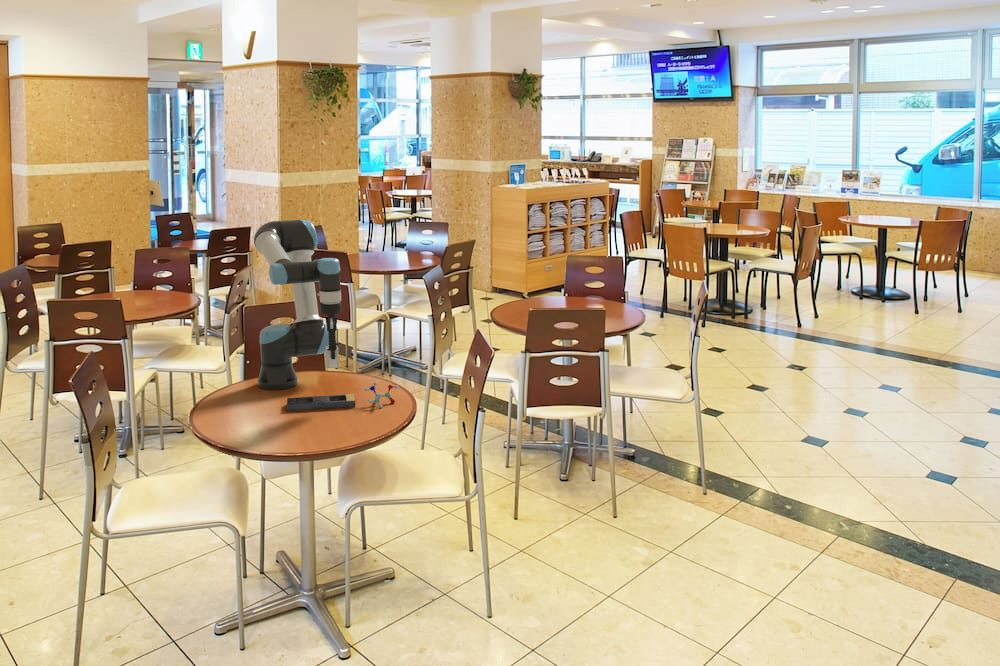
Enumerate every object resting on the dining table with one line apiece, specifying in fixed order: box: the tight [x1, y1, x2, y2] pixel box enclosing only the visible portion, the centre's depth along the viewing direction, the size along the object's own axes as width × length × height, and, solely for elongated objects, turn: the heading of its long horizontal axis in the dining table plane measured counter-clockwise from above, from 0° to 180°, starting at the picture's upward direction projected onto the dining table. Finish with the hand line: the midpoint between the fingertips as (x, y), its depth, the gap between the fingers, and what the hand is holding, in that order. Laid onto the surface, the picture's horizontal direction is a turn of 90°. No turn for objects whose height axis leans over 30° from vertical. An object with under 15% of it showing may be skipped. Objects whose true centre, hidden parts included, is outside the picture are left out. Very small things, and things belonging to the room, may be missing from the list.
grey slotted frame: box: [286, 393, 356, 413], centre depth 319 cm, size 8×24×3 cm, turn 103°
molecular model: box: [364, 381, 399, 409], centre depth 321 cm, size 12×10×10 cm
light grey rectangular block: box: [325, 345, 340, 369], centre depth 316 cm, size 4×4×7 cm
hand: (333, 365), depth 317 cm, fingers closed on light grey rectangular block, 4 cm apart
